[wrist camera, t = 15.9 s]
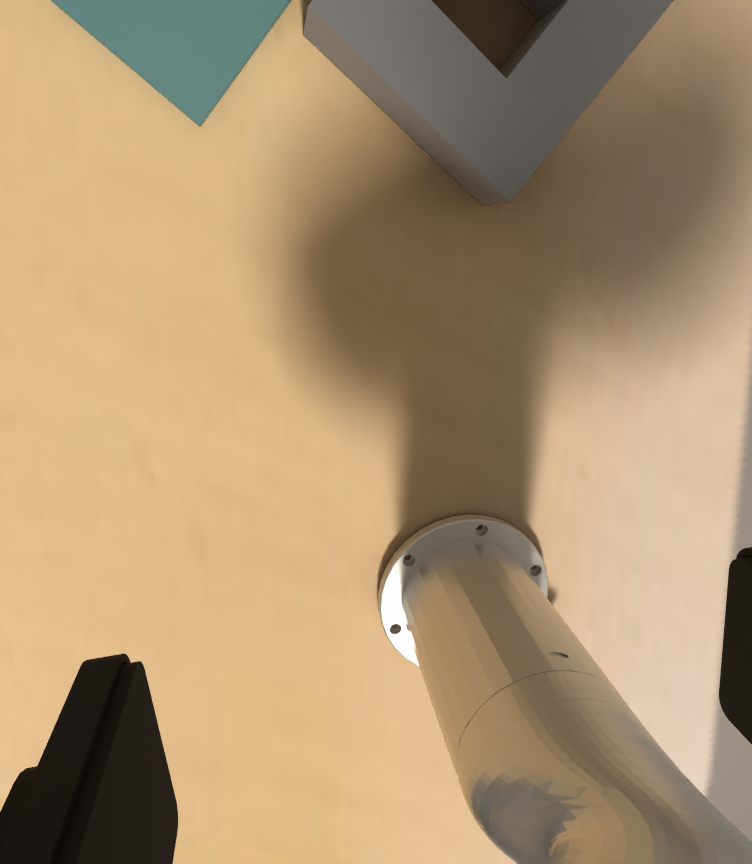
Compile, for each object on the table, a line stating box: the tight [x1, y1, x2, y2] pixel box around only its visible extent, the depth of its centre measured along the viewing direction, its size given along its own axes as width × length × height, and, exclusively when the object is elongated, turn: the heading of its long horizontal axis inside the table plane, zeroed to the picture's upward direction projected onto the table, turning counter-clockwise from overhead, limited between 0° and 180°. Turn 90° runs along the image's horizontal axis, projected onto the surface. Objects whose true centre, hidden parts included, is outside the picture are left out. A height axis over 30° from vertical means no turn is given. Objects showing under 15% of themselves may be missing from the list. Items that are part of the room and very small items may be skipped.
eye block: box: [303, 0, 673, 205], centre depth 35 cm, size 14×14×5 cm
